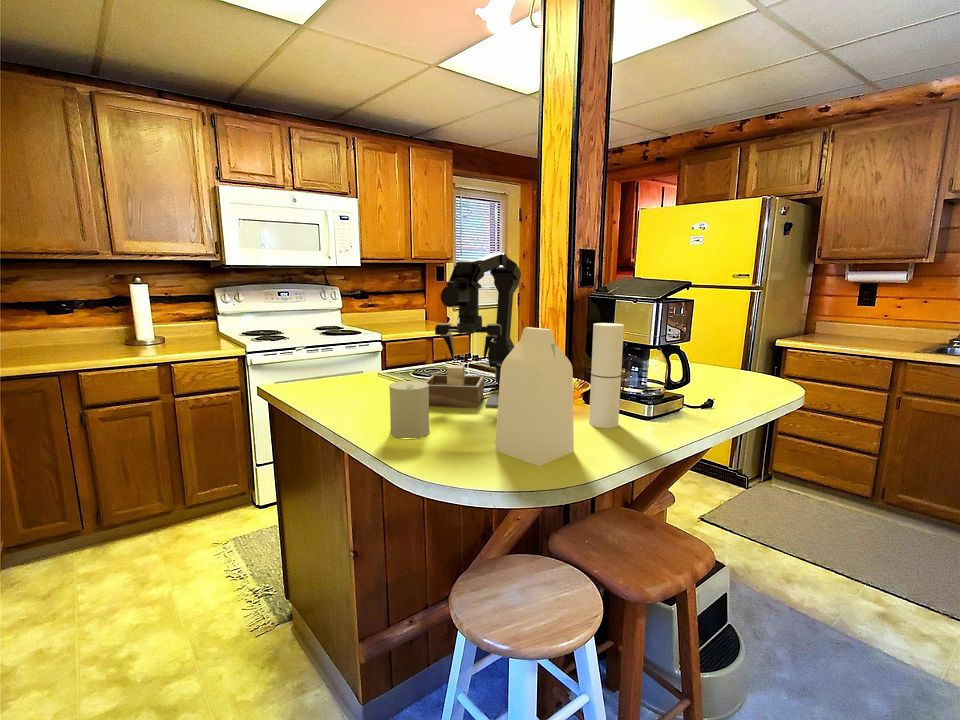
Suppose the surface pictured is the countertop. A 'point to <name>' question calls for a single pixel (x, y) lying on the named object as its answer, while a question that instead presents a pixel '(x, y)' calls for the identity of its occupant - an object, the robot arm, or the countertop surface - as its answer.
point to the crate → (455, 392)
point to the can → (409, 409)
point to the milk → (535, 400)
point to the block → (455, 375)
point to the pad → (492, 401)
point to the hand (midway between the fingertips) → (468, 358)
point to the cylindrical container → (606, 374)
